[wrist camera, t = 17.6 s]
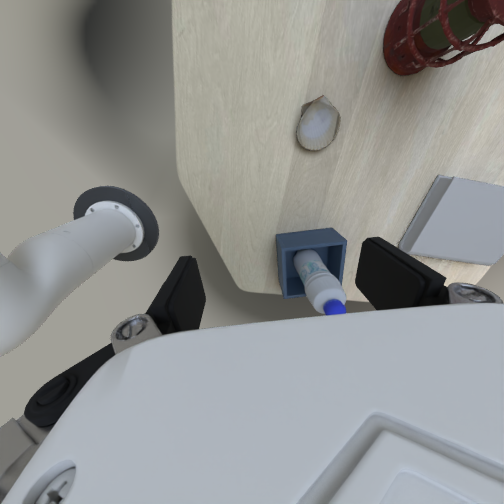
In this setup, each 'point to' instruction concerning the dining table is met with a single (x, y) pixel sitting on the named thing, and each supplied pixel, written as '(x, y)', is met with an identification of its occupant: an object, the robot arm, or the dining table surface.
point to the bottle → (319, 283)
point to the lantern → (437, 31)
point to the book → (458, 222)
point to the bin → (319, 240)
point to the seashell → (318, 124)
